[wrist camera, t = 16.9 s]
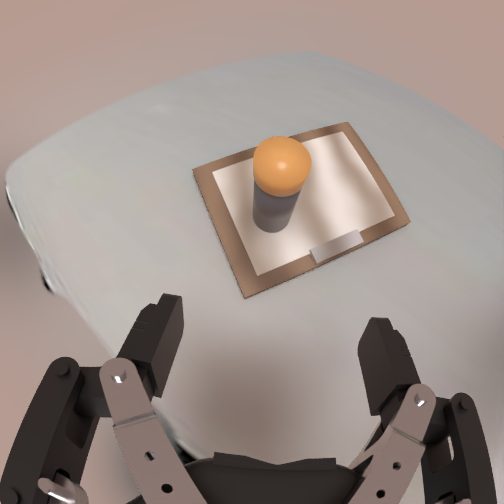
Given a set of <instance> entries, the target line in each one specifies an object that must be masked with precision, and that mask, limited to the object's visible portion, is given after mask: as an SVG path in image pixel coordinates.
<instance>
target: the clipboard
mask: <svg viewBox="0 0 504 504" xmlns="http://www.w3.org/2000/svg"><path fill="white" fill-rule="evenodd" d="M289 138H292V139H294V140H296V141H298V142H300V143H301V144H302V145H303V146H305V148H306V149H307V150H308V152H309V154H310V156H311V161H312V164H311V169H310V172H309V174H308V177H307V180H306V182H305V184H304V186H303V188H302V189H301V192H300V194H299V197H298V200H297V202H296V205H295V207H294V210H293V213H292V215H291V218H290V220H289V223H288V225H287V226H286V227H285V228H284V229H283V230H281V231H279V232H275V233H268V232H265V231H263V230H261V229H260V228H258V227H257V226H256V224H255V222H254V220H253V193H254V176H253V158H254V152H255V150H256V148H257V147H258V146H257V147H254V148H251V149H248V150H245V151H242V152H239V153H236V154H233V155H230V156H227V157H224V158H221V159H219V160H216V161H213V162H210V163H208V164H205V165H202V166H200V167H197V168H195V169H192V170H193V173H194V176H195V178H196V181H197V183H198V186H199V188H200V191H201V193H202V196H203V198H204V201H205V203H206V206H207V208H208V211H209V213H210V216H211V218H212V221H213V223H214V226H215V228H216V231H217V233H218V236H219V238H220V240H221V243H222V245H223V248H224V250H225V253H226V255H227V257H228V260H229V262H230V265H231V267H232V269H233V272H234V274H235V277H236V279H237V281H238V284H239V286H240V288H241V291H242V293H243V295H244V298H248V297H250V296H252V295H255V294H257V293H260V292H262V291H264V290H267V289H269V288H271V287H274V286H276V285H278V284H281V283H283V282H285V281H287V280H290V279H292V278H294V277H296V276H299V275H301V274H303V273H305V272H308V271H310V270H312V269H314V268H317V267H319V266H321V265H323V264H325V263H328V262H330V261H332V260H334V259H336V258H338V257H341V256H343V255H345V254H347V253H349V252H351V251H353V250H356V249H358V248H360V247H362V246H364V245H366V244H368V243H370V242H372V241H374V240H376V239H378V238H381V237H383V236H385V235H387V234H389V233H391V232H393V231H395V230H397V229H399V228H401V227H403V226H405V225H407V224H408V223H410V222H411V221H410V219H409V217H408V215H407V213H406V212H405V210H404V208H403V206H402V204H401V203H400V201H399V199H398V197H397V196H396V194H395V192H394V190H393V189H392V187H391V185H390V184H389V182H388V180H387V179H386V177H385V175H384V174H383V172H382V171H381V169H380V167H379V166H378V164H377V163H376V161H375V160H374V158H373V157H372V155H371V154H370V152H369V151H368V149H367V148H366V146H365V145H364V143H363V142H362V140H361V139H360V138H359V136H358V135H357V133H356V132H355V131H354V129H353V128H352V127H351V125H350V124H349V123H348V122H344V123H340V124H336V125H332V126H328V127H324V128H320V129H316V130H312V131H308V132H304V133H301V134H297V135H293V136H290V137H289Z"/></svg>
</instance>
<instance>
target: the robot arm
mask: <svg viewBox="0 0 504 504" xmlns="http://www.w3.org/2000/svg"><path fill="white" fill-rule="evenodd" d="M183 329H184V319H183V306H182V297H181V296H177V295H171V294H165V293H164V294H162V296H161V298H160V300H159V302H158V304H157V305H156V304H151V303H150V304H149V305H147V306H146V307H145V308H144V309H143V310H141V312H140V314H139V316H138V317H137V319H136V321H135V323H134V325H133V327H132V329H131V330H130V332H129V334H128V336H127V338H126V340H125V342H124V344H123V346H122V348H121V350H120V352H119V354H118V355H117V357H116V358H113V359H110V360H108V361H107V362H105V363H104V364H103V366H101V367H79V365H78V363H77V362H76V361H75V360H74V359H72V358H70V357H61V358H58V359H56V360H55V361H53V362H52V363H51V364H50V366H49V368H48V369H47V371H46V373H45V375H44V377H43V380H42V381H41V383H40V385H39V387H38V389H37V391H36V393H35V395H34V397H33V399H32V401H31V403H30V406H29V408H28V410H27V413H26V414H25V417H24V419H23V421H22V423H21V426H20V428H19V431H18V433H17V436H16V438H15V441H14V443H13V446H12V449H11V451H10V454H9V457H8V460H7V462H6V466H5V469H4V472H3V475H2V478H1V482H0V502H1V504H89V500H88V496H87V494H86V492H85V490H84V489H83V488H82V487H81V486H80V481H81V477H82V474H83V470H84V467H85V463H86V460H87V456H88V453H89V450H90V446H91V443H92V440H93V437H94V434H95V430H96V427H97V425H98V422H99V419H100V417H112V419H113V422H114V425H113V429H114V433H115V435H116V438H117V441H118V443H119V446H120V449H121V451H122V453H123V456H124V458H125V461H126V463H127V465H128V467H129V469H130V472H131V474H132V476H133V478H134V480H135V482H136V485H137V487H138V489H139V491H140V493H141V495H140V496H138V497H136V498H135V499H133V500H132V501H130V502H128V503H127V504H399V502H400V500H401V498H402V497H403V495H404V493H405V491H406V489H407V487H408V485H409V483H410V481H411V479H412V477H413V475H414V473H415V471H416V469H417V467H418V465H419V462H420V460H421V467H422V475H423V484H424V494H425V504H497V499H496V491H495V484H494V478H493V473H492V467H491V462H490V458H489V453H488V449H487V445H486V441H485V437H484V433H483V430H482V426H481V423H480V419H479V416H478V413H477V410H476V407H475V404H474V401H473V400H472V398H471V397H470V396H469V395H467V394H465V393H457V394H455V395H454V396H453V397H452V398H451V399H445V398H440V397H435V394H434V392H433V391H432V390H431V389H430V388H429V387H428V386H426V385H424V384H421V382H420V379H419V376H418V373H417V370H416V368H415V365H414V362H413V360H412V357H410V356H411V354H410V352H409V349H408V347H407V344H406V342H405V339H404V338H403V336H402V335H401V334H400V333H399V332H398V331H397V330H393V327H392V325H391V322H390V320H389V319H388V318H376V317H372V318H371V319H370V320H369V322H368V324H367V327H366V329H365V331H364V333H363V335H362V337H361V339H360V341H359V344H358V357H359V361H360V366H361V370H362V374H363V379H364V384H365V388H366V393H367V398H368V403H369V408H370V413H371V416H375V415H380V416H381V420H380V421H379V423H378V424H377V426H376V428H375V430H374V431H373V433H372V435H371V436H370V438H369V440H368V441H367V443H366V445H365V446H364V448H363V449H362V451H361V452H360V454H359V455H358V456H357V458H356V459H355V460H354V461H353V462H352V463H351V464H350V465H349V467H348V468H347V467H345V466H341V465H337V464H336V458H319V459H304V460H300V461H295V462H291V463H286V464H281V465H274V464H270V463H267V462H263V461H260V460H256V459H253V458H250V457H247V456H241V455H232V454H225V453H218V452H215V453H214V458H206V459H200V460H197V461H193V462H191V463H188V464H186V465H184V466H183V464H182V463H181V461H180V459H179V457H178V456H177V454H176V452H175V450H174V448H173V446H172V445H171V443H170V441H169V439H168V437H167V435H166V433H165V431H164V429H163V427H162V425H161V424H160V421H159V419H158V417H157V415H156V413H155V411H154V409H153V407H152V405H151V401H152V398H153V396H155V397H159V398H161V397H162V394H163V391H164V388H165V385H166V382H167V379H168V376H169V373H170V370H171V367H172V364H173V361H174V358H175V355H176V352H177V349H178V346H179V343H180V341H181V338H182V334H183ZM449 436H450V437H451V441H452V446H453V451H454V458H453V460H452V458H451V453H450V448H449V443H448V439H447V438H448V437H449Z"/></svg>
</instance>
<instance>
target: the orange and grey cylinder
mask: <svg viewBox="0 0 504 504" xmlns="http://www.w3.org/2000/svg"><path fill="white" fill-rule="evenodd" d="M311 164H312V161H311V156H310V154H309V152H308V150H307V149H306V148H305V146H303V145H302V144H301V143H300V142H298V141H296V140H294V139H292V138H289V137H282V136H278V137H272V138H269V139H266V140H264V141H263V142H261V143H260V144H259V145H258V147H257V148H256V150H255V152H254V158H253V176H254V193H253V220H254V222H255V224H256V226H257V227H258V228H260V229H261V230H263V231H265V232H268V233H275V232H279V231H281V230H283V229H284V228H285V227H286V226H287V225H288V223H289V220H290V218H291V215H292V213H293V210H294V207H295V205H296V202H297V200H298V197H299V194H300V192H301V189H302V188H303V186H304V184H305V182H306V180H307V177H308V174H309V172H310V169H311Z"/></svg>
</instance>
